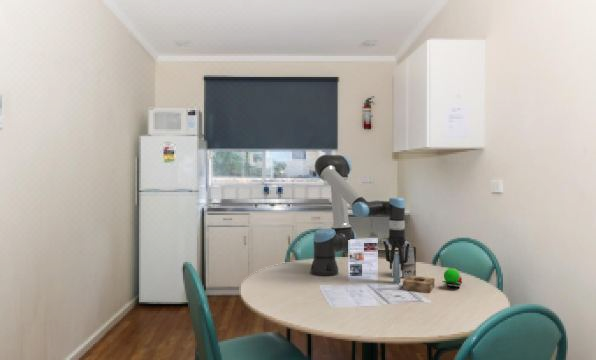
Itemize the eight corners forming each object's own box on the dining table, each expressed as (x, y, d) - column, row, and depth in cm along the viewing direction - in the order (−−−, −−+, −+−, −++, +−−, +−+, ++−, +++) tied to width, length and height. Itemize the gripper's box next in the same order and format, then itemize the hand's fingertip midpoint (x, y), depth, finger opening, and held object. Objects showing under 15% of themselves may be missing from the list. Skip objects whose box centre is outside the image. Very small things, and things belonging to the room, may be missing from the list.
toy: (445, 290, 206) (440, 280, 195) (446, 275, 210) (442, 264, 199) (463, 292, 202) (460, 282, 191) (465, 277, 206) (461, 266, 194)
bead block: (403, 289, 195) (403, 281, 195) (409, 283, 206) (409, 275, 206) (429, 292, 190) (429, 284, 190) (434, 286, 200) (434, 278, 200)
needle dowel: (392, 282, 208) (392, 251, 208) (394, 281, 211) (394, 250, 211) (399, 283, 206) (399, 252, 206) (401, 282, 209) (401, 251, 209)
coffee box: (416, 278, 216) (416, 247, 216) (403, 278, 216) (403, 247, 216) (411, 274, 225) (411, 244, 225) (399, 274, 226) (399, 244, 225)
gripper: (379, 228, 209) (378, 276, 209) (411, 230, 201) (411, 279, 202) (383, 227, 215) (383, 273, 216) (414, 229, 208) (414, 276, 208)
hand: (396, 276), depth 209 cm, fingers closed on needle dowel, 3 cm apart
